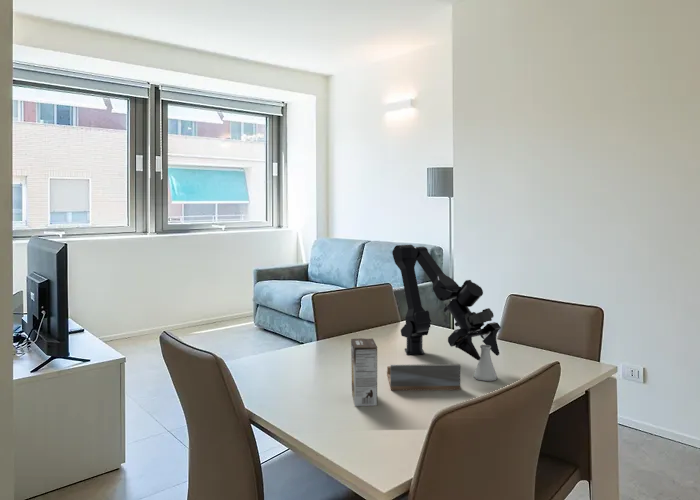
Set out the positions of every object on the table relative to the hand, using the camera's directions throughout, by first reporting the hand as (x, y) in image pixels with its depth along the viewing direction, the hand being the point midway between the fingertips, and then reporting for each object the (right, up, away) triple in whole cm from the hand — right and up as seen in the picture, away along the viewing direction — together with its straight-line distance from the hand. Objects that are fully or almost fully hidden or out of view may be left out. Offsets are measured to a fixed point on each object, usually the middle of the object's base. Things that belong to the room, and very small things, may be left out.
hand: (489, 357), depth 159 cm
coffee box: (-38, -9, -16) cm, 42 cm away
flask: (-1, -7, +2) cm, 7 cm away
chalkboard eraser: (-21, -7, -3) cm, 22 cm away
